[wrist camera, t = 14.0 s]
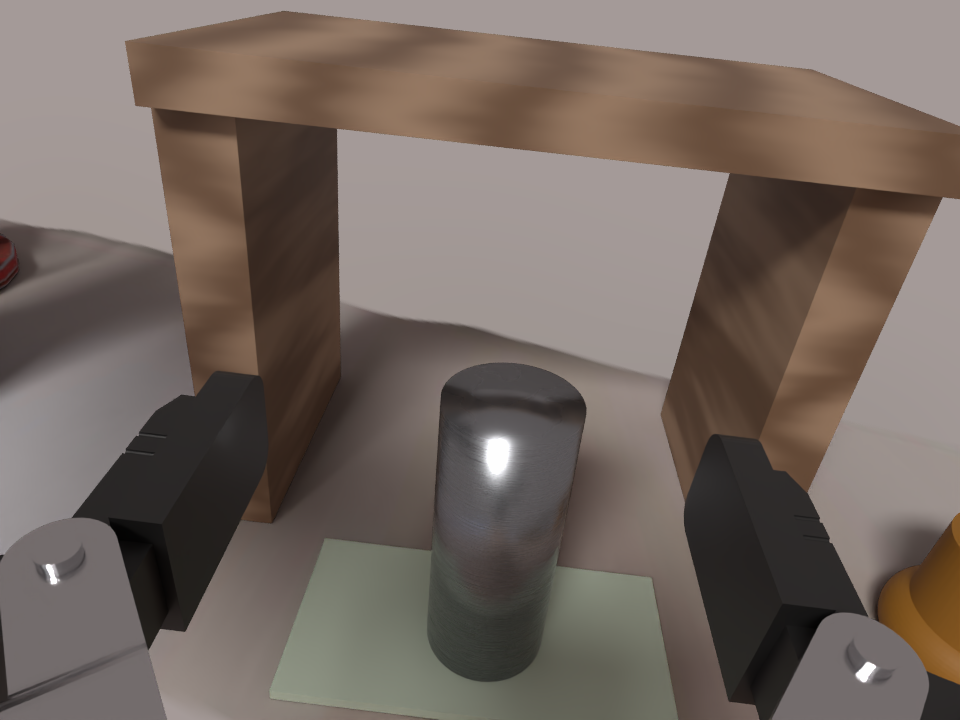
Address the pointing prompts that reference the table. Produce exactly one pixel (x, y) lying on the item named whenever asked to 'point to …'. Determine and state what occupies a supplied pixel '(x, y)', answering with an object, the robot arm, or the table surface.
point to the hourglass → (7, 261)
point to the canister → (499, 514)
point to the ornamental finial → (929, 606)
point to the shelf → (554, 129)
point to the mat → (440, 692)
